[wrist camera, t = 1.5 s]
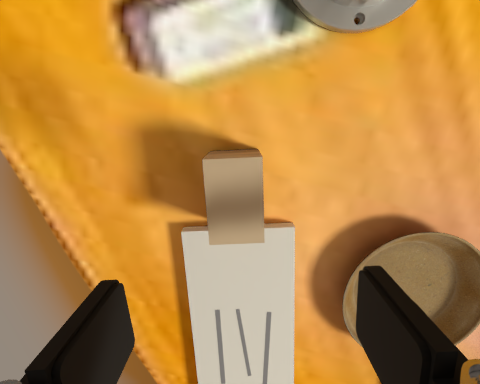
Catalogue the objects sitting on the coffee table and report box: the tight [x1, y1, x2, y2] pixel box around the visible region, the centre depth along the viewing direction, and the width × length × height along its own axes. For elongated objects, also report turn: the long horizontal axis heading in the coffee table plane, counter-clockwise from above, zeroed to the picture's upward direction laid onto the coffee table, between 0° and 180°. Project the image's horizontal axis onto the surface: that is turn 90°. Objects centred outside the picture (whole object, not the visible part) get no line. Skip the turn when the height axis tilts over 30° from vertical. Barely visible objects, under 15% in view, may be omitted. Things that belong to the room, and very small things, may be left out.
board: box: [181, 222, 295, 384], centre depth 30 cm, size 22×11×1 cm, turn 3°
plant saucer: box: [343, 232, 480, 347], centre depth 28 cm, size 15×15×3 cm
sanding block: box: [202, 149, 265, 245], centre depth 24 cm, size 7×4×6 cm, turn 3°
